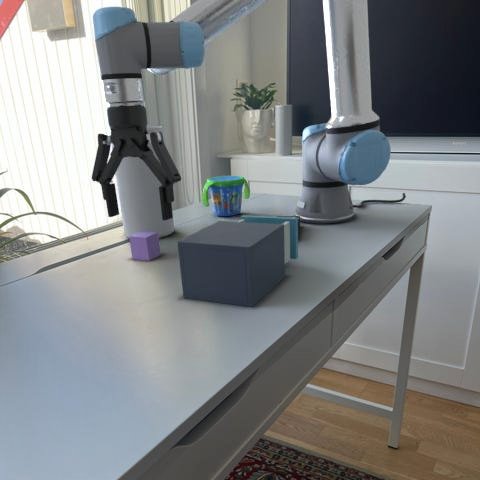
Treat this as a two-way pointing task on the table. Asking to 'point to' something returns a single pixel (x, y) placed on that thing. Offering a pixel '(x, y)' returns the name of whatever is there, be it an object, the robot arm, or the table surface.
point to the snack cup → (225, 194)
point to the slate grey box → (232, 262)
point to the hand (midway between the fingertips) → (140, 217)
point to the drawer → (289, 232)
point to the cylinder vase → (140, 195)
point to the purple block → (145, 245)
